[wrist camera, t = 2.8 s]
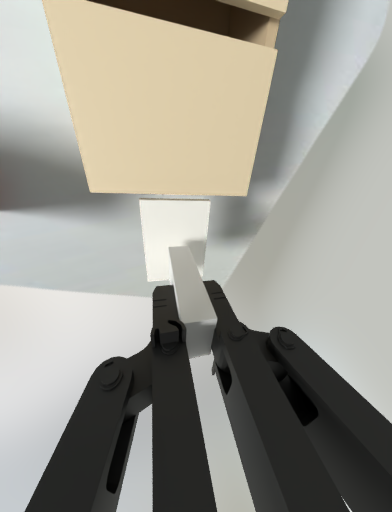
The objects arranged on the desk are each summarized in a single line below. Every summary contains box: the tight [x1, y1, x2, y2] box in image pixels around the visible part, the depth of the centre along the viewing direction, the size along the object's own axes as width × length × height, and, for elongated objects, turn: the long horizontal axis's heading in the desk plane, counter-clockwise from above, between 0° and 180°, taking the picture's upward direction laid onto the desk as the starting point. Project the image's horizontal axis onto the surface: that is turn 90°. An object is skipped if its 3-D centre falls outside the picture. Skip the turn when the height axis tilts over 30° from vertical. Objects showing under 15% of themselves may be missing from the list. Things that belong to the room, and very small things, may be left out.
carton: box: [86, 0, 280, 48], centre depth 11 cm, size 16×11×7 cm
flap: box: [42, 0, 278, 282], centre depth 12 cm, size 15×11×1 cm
